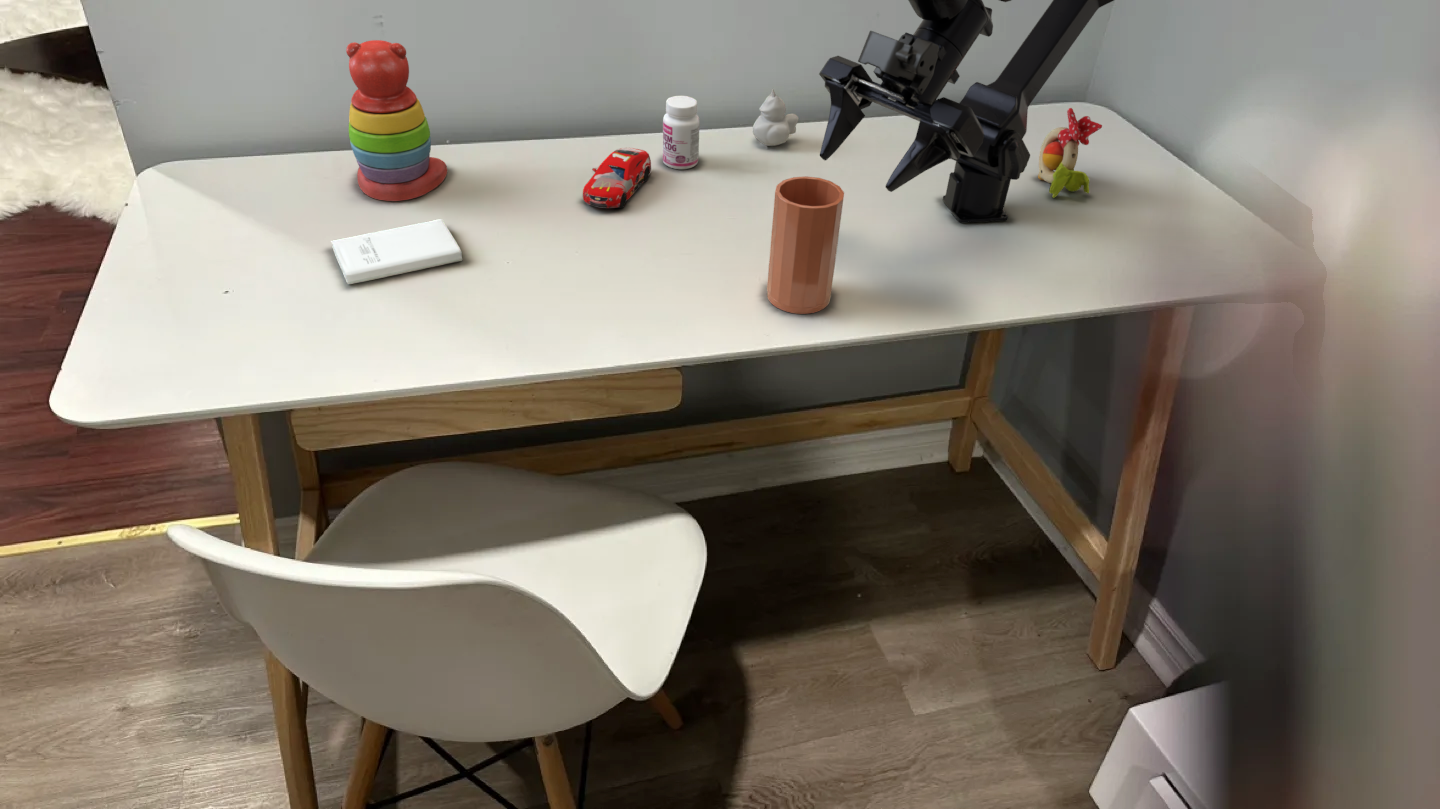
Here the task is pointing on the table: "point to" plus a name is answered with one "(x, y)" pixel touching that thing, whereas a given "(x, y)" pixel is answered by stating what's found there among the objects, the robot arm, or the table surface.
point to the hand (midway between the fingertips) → (854, 173)
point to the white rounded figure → (774, 122)
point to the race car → (617, 178)
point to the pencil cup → (804, 244)
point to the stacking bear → (389, 125)
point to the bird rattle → (1065, 154)
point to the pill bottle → (681, 133)
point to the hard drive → (395, 251)
